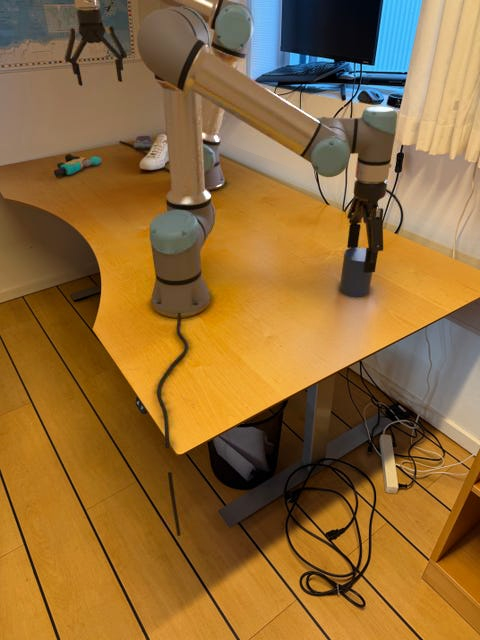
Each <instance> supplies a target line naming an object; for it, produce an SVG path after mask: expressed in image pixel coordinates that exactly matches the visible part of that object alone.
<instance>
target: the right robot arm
mask: <svg viewBox="0 0 480 640" xmlns="http://www.w3.org/2000/svg"><path fill="white" fill-rule="evenodd" d="M73 1H74V6H75V8H76V9H77V10H76V16H77V23H78V28H73V27H69V38H68V42H67V46H66V51H65V54H64V61H65V62H67V63H70V64H71V69H72V73H73V74H74V75H76V78H77V83H78V86H80V87H81V86H84V85H83V80H82V74H81V68H80V64H79V63H78V60H79V58H80V56H81V54H82V53H83V50H84V48H85V46H86V45H87V44H95V43H96V44H100V43H102V44H103V45H104V46H105V47H106V48H107V49H108V51H110V52H111V54H112V55H113V56H114V57H116V59H114V62H115V70H116V76H117V82H120V83H123V75H122V71H124V64H123V60H124V59H125V58H127V57H128V54H127V52H126V50H125V49H124V47H123V46H122V43H121V42H120V40H119V38H118V37H117V35H116V32H115V28H114V27H113V26H112V25H108V26H104V22H103V15H102V10H101V9H100V8H101V4H100V0H73ZM157 1H158V2H160V3H162V4H165V5H166V6H168V7H171V6H182V7H187V8H190V9H193V10H194V11H196V12H197V13H198V14H199V15H200V16H201V17H202V18H203V19H204V21H205V22H206V24H207V26H208V28H209V29H211V30H213V31H214V32H213V36H212V40H211V43H210V48H211V50H212V52H213V55H214V56H216V57H217V58H219V59H221V60H222V61H224V62H225V63H227V64H229V65H230V66H232V67H233V68H235V69H237V70H238V67H239V63H240V62H242V61H243V60H245V59H246V55H247V52H248V49H249V46H250V41H251V40H252V38H253V35H254V28H255V27H254V26H255V25H254V23H255V21H254V17H253V14H252V12H251V10H250V9H249V8H248V7H247V6H246V5H244V4H242V3H239V2H235V1H231V0H157ZM106 33H107V34H108V35H109V36H110V38H111V40H112V42H113V44H114V45H115V47H116V48H117V49H115V48H114V46H113V45H112V44H111V43H110V42H109V41H108V40H107V39H106V37H104V36H105V34H106ZM78 34H79V35H80V36H81V39H80V40H79V43H78V46H76V49H75V50H74V45H75V42H76V37H77V36H78ZM73 50H74V53H73ZM117 50H118V51H119V52H118V51H117ZM72 54H73V55H72ZM225 112H226V111H225V110H223V109H222V108H220V107H218V106H217V105H215V104H213V103H212V102H210V101H209V100H207V99H205V98H204V97H202V98H201V113H202V136H203V160H204V184H205V189H207V190H208V191H209V192H211V191H216V190H220V189H222V188H223V187H225V185H226V181H225V176H224V174H223V171H222V168H221V164H220V146H221V142H222V137H221V135H220V130H221V127H222V123H223V120H224V116H225ZM119 144H124V145H127V146H129V147H132V148H134V146H133V145H134V144H131V143H129V142H127V141H122V140H119ZM136 150H138V151H140V152H141V153H142V154H144V155H145V156H146V155H147V154H148V153H147V152H146V151H145V150H144V149H140V148H137V149H136ZM161 169H163V170H165V171H167V172H169V173H170V170H169V168H168V167H165V166H164V167H162V168H161Z"/></svg>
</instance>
